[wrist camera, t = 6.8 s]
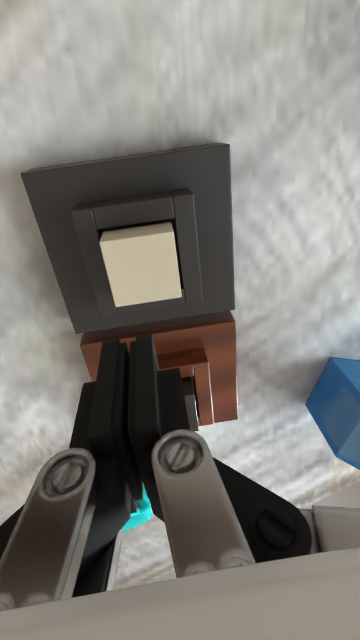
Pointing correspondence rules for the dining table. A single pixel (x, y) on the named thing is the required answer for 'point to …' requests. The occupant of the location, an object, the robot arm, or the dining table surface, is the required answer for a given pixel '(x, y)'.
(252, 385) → the dining table surface
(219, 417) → the brown stepped socket base
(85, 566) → the robot arm
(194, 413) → the ebony key
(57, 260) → the dark grey socket base
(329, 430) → the perfume bottle
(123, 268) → the ivory key
